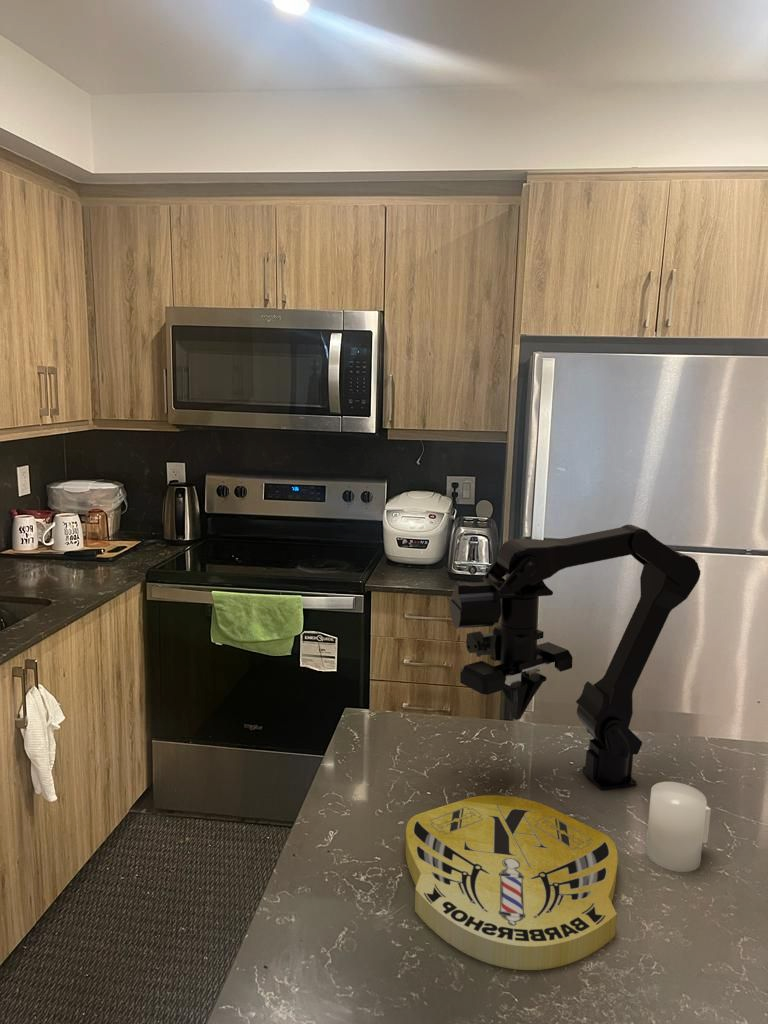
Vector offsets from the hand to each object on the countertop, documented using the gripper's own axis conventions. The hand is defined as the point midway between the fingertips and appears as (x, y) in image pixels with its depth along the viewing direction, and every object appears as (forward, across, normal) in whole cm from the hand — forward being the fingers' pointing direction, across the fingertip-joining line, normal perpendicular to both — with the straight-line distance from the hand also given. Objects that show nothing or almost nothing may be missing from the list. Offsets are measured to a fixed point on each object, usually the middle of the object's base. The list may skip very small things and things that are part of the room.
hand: (516, 718), depth 117 cm
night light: (+12, -6, +24) cm, 28 cm away
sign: (+12, +16, +16) cm, 26 cm away
